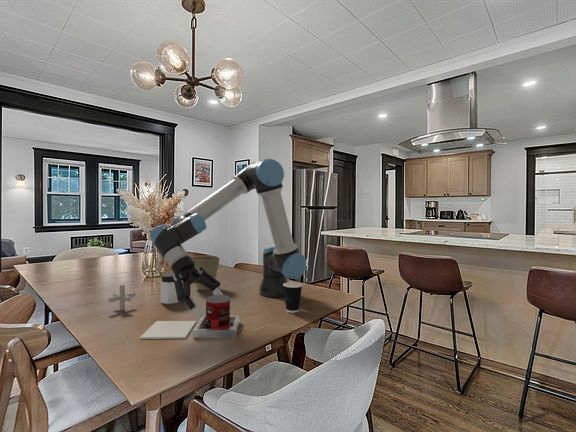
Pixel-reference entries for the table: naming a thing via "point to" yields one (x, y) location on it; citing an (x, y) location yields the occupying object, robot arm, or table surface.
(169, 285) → the jar
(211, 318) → the canned food
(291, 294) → the dixie cup
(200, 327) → the square frame
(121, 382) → the table surface
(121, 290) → the light grey toy jack
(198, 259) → the plant pot
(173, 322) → the tile
